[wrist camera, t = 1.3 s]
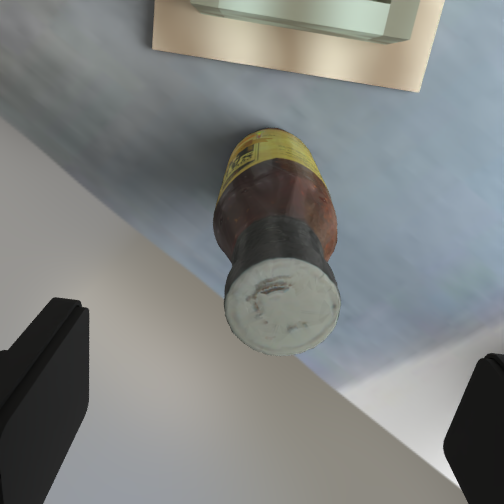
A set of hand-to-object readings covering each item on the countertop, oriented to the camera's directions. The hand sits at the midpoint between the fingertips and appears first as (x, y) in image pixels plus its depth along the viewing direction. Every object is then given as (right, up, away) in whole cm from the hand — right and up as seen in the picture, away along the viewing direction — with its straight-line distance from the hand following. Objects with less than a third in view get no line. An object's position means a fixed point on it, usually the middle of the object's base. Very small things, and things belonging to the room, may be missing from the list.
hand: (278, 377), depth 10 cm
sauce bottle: (+1, +9, +23) cm, 24 cm away
